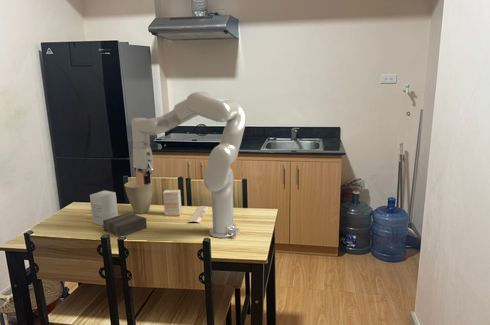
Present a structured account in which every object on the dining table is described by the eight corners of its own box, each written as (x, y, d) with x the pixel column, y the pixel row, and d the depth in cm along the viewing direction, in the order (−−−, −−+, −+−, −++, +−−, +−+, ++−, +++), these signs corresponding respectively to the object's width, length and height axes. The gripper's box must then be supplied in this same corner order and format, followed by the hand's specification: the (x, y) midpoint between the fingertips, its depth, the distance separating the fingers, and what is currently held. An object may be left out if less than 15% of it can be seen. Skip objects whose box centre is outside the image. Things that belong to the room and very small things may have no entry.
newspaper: (198, 209, 207) (198, 205, 207) (210, 209, 206) (210, 206, 206) (187, 224, 184) (187, 221, 184) (201, 224, 183) (201, 221, 183)
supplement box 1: (107, 217, 194) (104, 189, 191) (119, 220, 190) (116, 192, 187) (92, 223, 187) (89, 194, 183) (104, 226, 182) (101, 196, 179)
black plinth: (146, 228, 179) (146, 218, 178) (121, 237, 168) (120, 227, 167) (129, 221, 187) (128, 212, 186) (104, 230, 177) (103, 220, 176)
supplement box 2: (182, 213, 198) (180, 189, 196) (179, 216, 194) (178, 192, 191) (167, 213, 199) (165, 189, 196) (164, 216, 194) (162, 192, 192)
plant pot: (140, 206, 212) (137, 178, 209) (161, 209, 205) (159, 181, 202) (120, 214, 199) (118, 185, 196) (142, 218, 192) (140, 188, 189)
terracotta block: (151, 183, 177) (150, 171, 176) (142, 185, 173) (142, 173, 172) (145, 181, 180) (144, 169, 179) (136, 184, 176) (135, 171, 175)
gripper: (159, 145, 170) (161, 184, 174) (137, 142, 181) (140, 178, 185) (145, 147, 165) (148, 187, 168) (123, 144, 175) (126, 181, 179)
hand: (143, 182), depth 176 cm, fingers closed on terracotta block, 5 cm apart
